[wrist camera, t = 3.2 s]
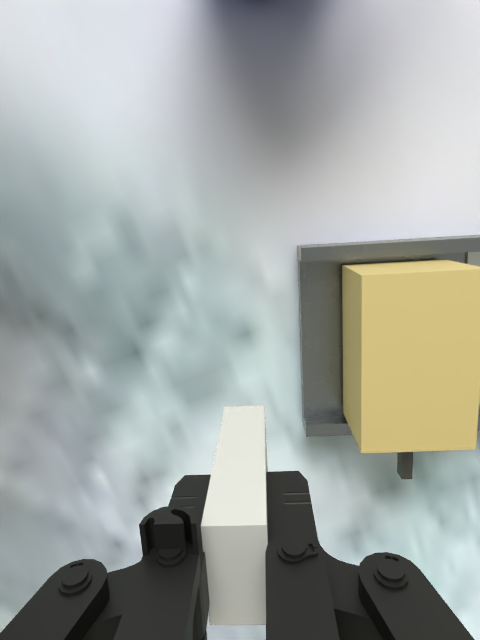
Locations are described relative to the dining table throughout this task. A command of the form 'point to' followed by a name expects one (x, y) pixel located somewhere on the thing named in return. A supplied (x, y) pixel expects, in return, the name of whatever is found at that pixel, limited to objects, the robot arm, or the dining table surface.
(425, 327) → the block
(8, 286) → the dining table surface
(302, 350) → the tray
